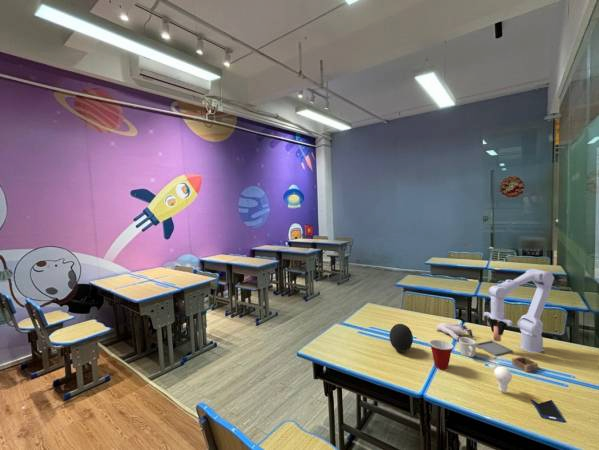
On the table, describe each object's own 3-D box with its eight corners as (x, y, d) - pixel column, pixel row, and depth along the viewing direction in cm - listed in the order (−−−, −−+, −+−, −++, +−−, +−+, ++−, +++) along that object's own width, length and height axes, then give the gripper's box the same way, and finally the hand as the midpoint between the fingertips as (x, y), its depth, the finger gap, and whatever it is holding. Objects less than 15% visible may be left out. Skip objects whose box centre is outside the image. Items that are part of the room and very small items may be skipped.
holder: (522, 363, 140) (522, 356, 140) (537, 370, 133) (537, 363, 133) (511, 365, 138) (511, 358, 138) (526, 373, 131) (526, 366, 131)
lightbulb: (512, 399, 115) (512, 373, 114) (494, 394, 118) (494, 369, 118) (510, 390, 120) (511, 365, 120) (493, 386, 124) (493, 362, 123)
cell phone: (541, 418, 105) (541, 417, 105) (528, 395, 117) (528, 393, 117) (566, 424, 102) (566, 422, 102) (550, 399, 114) (550, 397, 114)
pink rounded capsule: (496, 338, 152) (496, 324, 152) (502, 340, 149) (502, 327, 149) (492, 339, 152) (492, 325, 151) (497, 341, 149) (497, 328, 148)
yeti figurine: (477, 336, 173) (443, 326, 188) (477, 325, 173) (443, 317, 188) (466, 345, 160) (430, 334, 175) (467, 333, 160) (431, 323, 174)
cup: (481, 362, 142) (481, 347, 141) (464, 361, 143) (464, 346, 143) (472, 351, 152) (472, 337, 152) (456, 350, 154) (456, 336, 153)
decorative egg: (399, 342, 165) (398, 318, 164) (417, 351, 155) (417, 325, 154) (385, 349, 159) (384, 323, 158) (403, 358, 148) (403, 331, 147)
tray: (491, 342, 161) (491, 340, 161) (512, 353, 149) (512, 350, 149) (475, 346, 158) (475, 343, 158) (495, 357, 146) (495, 354, 146)
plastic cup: (453, 363, 142) (453, 340, 141) (453, 375, 133) (453, 350, 132) (430, 358, 147) (429, 336, 146) (428, 369, 138) (428, 346, 137)
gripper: (479, 305, 155) (479, 328, 156) (504, 314, 141) (504, 340, 142) (489, 303, 157) (489, 326, 158) (515, 312, 143) (515, 338, 144)
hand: (497, 333), depth 150 cm, fingers closed on pink rounded capsule, 3 cm apart
